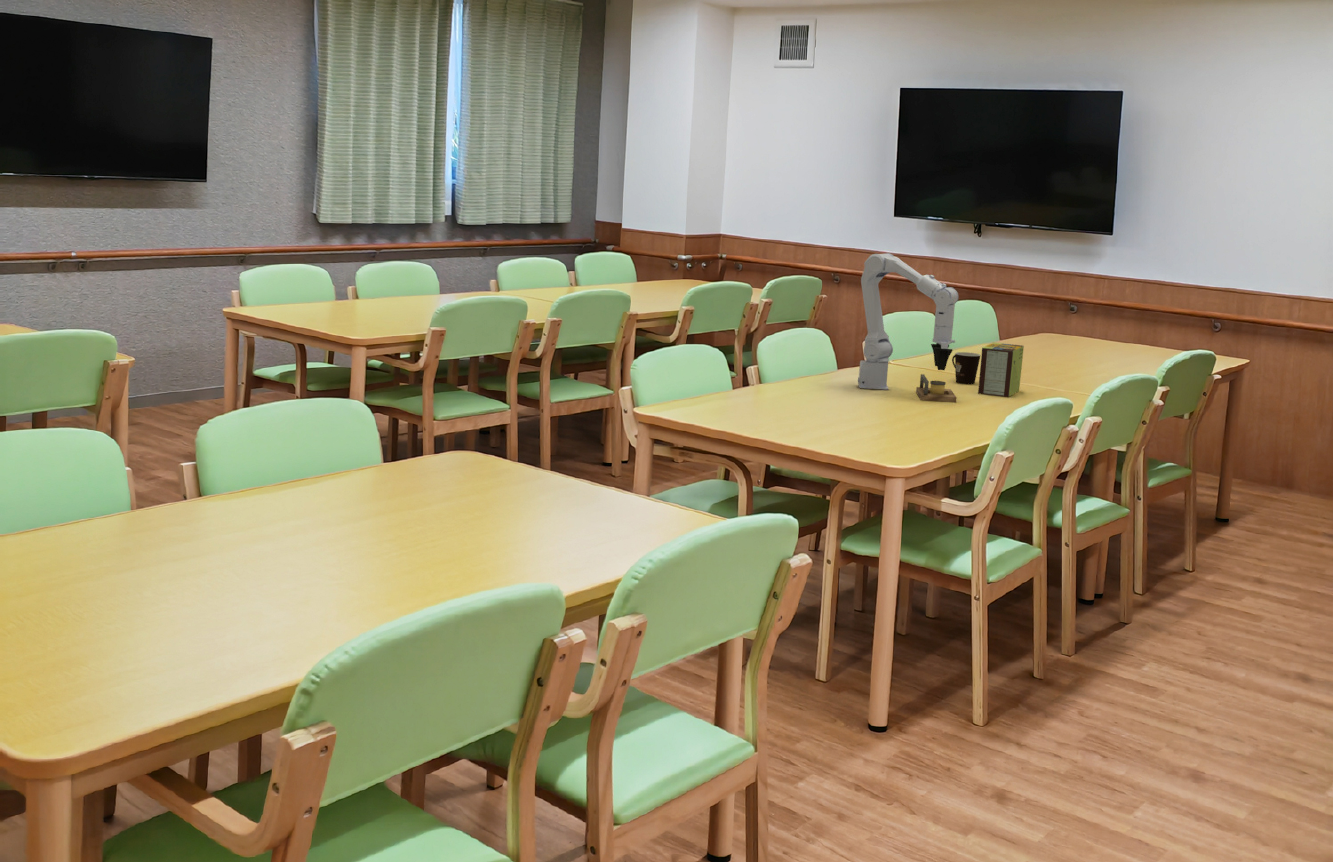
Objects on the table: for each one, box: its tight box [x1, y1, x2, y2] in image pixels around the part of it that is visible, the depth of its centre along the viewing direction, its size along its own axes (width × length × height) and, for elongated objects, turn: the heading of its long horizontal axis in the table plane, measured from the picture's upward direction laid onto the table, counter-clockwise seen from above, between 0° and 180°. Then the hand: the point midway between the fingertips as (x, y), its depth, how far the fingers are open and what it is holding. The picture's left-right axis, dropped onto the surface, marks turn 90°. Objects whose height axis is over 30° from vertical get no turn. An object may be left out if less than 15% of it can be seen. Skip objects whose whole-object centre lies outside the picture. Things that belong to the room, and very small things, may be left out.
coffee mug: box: [951, 351, 982, 385], centre depth 418 cm, size 12×9×10 cm
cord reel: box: [929, 380, 947, 394], centre depth 387 cm, size 5×5×5 cm
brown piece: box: [915, 373, 958, 403], centre depth 387 cm, size 11×15×6 cm
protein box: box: [977, 342, 1025, 398], centre depth 400 cm, size 10×15×16 cm
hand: (939, 368), depth 386 cm, fingers open, 7 cm apart
